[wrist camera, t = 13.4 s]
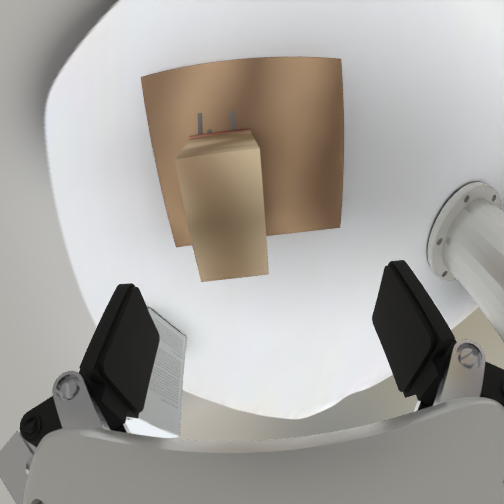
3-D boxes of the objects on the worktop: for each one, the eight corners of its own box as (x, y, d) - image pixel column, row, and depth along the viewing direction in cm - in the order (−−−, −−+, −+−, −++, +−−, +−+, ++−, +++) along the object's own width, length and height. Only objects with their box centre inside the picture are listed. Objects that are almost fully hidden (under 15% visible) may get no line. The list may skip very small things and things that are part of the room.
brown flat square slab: (332, 60, 15) (341, 58, 14) (334, 219, 22) (340, 227, 21) (147, 77, 15) (140, 77, 14) (178, 237, 22) (175, 247, 21)
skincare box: (124, 320, 27) (99, 418, 17) (149, 305, 26) (126, 413, 16) (162, 349, 30) (151, 441, 20) (188, 337, 29) (182, 437, 19)
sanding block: (251, 128, 17) (262, 146, 12) (259, 225, 21) (270, 275, 16) (189, 136, 16) (172, 157, 11) (205, 231, 20) (199, 283, 15)
